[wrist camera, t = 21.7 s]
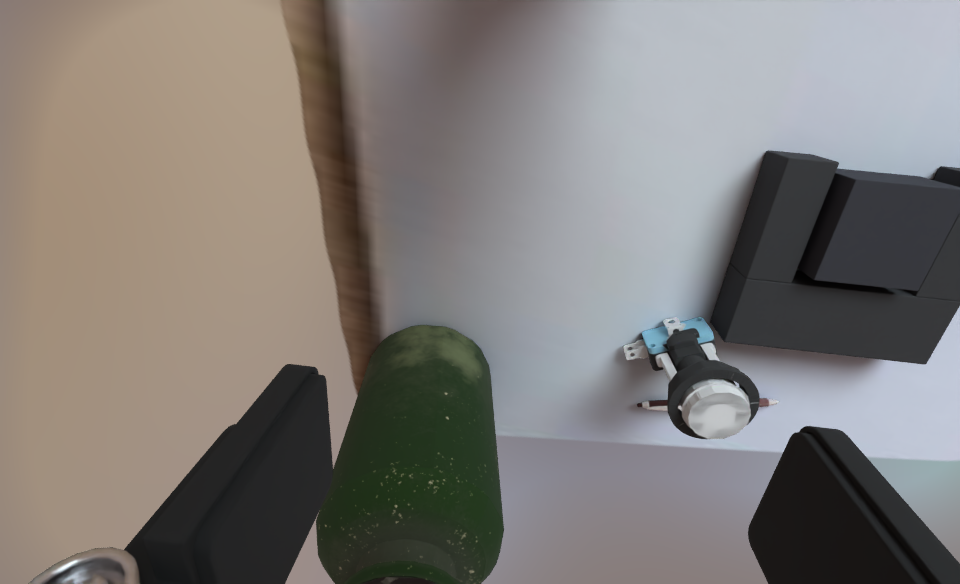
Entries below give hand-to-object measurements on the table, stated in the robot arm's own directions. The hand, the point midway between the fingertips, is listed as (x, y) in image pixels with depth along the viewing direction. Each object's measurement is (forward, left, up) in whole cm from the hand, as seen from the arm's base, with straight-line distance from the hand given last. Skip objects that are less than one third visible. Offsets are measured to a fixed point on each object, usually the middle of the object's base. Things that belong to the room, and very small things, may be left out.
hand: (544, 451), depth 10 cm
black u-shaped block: (+3, +22, -26) cm, 34 cm away
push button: (+11, +12, -26) cm, 31 cm away
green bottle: (+17, -7, -26) cm, 32 cm away
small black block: (0, +22, -26) cm, 34 cm away
